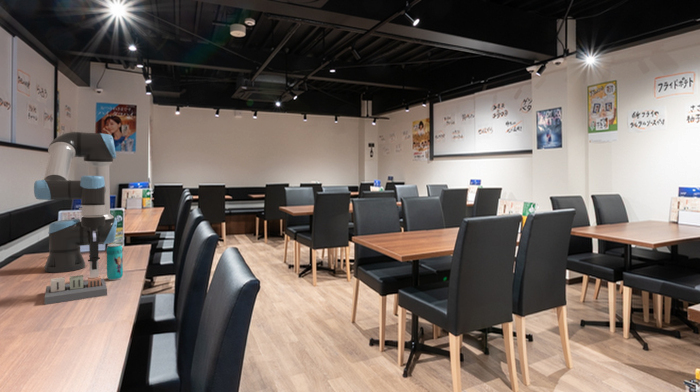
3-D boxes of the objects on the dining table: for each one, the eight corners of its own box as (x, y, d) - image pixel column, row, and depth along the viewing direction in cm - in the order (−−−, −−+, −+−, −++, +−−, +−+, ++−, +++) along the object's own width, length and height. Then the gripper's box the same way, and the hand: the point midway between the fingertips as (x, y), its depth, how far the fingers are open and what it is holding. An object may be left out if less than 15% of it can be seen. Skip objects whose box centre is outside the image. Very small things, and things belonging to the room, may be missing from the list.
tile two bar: (69, 287, 138) (69, 276, 138) (83, 285, 141) (82, 274, 141) (69, 289, 135) (69, 279, 135) (83, 287, 137) (83, 277, 137)
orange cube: (87, 287, 142) (87, 277, 142) (100, 286, 144) (100, 275, 144) (88, 290, 138) (88, 279, 138) (101, 288, 141) (101, 278, 141)
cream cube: (51, 289, 135) (50, 278, 135) (64, 287, 137) (64, 277, 137) (50, 292, 132) (50, 281, 132) (64, 290, 134) (64, 279, 134)
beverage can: (115, 281, 155) (114, 246, 154) (103, 280, 156) (103, 245, 156) (126, 277, 161) (125, 243, 160) (114, 276, 162) (114, 243, 161)
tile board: (46, 292, 139) (46, 286, 139) (103, 284, 150) (103, 278, 150) (44, 304, 126) (44, 297, 126) (107, 295, 137) (107, 288, 137)
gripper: (80, 215, 143) (81, 275, 144) (81, 218, 133) (82, 282, 134) (103, 214, 147) (104, 272, 148) (106, 217, 137) (107, 279, 138)
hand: (94, 277), depth 141 cm, fingers closed
